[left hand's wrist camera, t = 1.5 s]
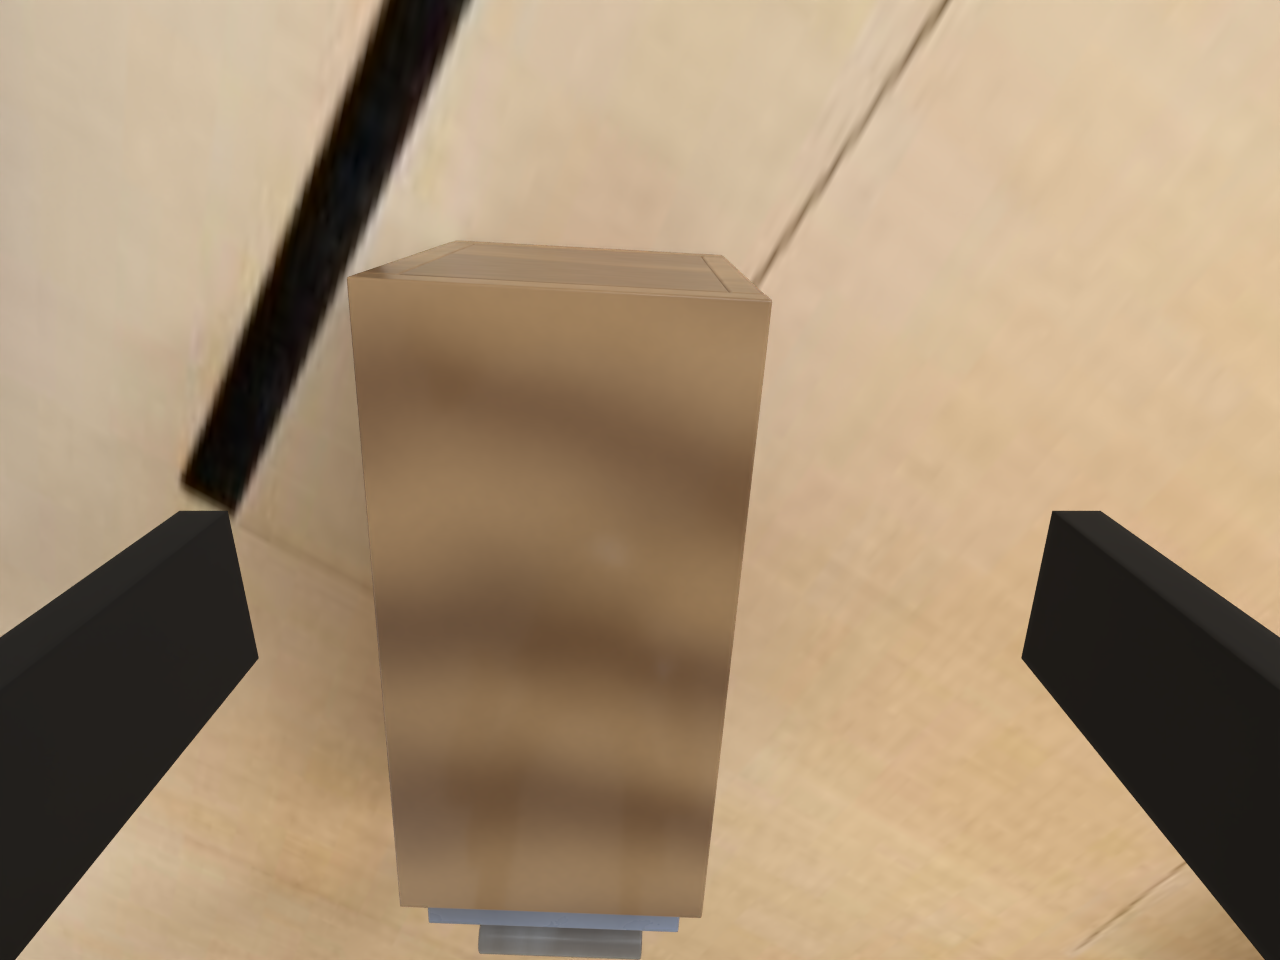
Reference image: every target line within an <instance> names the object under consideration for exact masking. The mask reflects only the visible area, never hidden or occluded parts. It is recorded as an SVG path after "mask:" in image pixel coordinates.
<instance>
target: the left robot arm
mask: <svg viewBox="0 0 1280 960" xmlns="http://www.w3.org/2000/svg"><path fill="white" fill-rule="evenodd" d="M257 660H258V653H257V648H256V643H255V639H254V634H253V629H252V624H251V620H250V615H249V610H248V605H247V601H246V596H245V591H244V586H243V582H242V577H241V572H240V567H239V563H238V558H237V553H236V548H235V544H234V539H233V534H232V529H231V525H230V520H229V515H228V511H179V512H177V513H176V514H174V515H173V516H172V517H170V518H169V519H167V520H166V521H165V522H163V523H162V524H160V525H159V526H157V527H156V528H155V529H153V530H152V531H150V532H149V533H148V534H146V535H145V536H143V537H142V538H140V539H139V540H138V541H136V542H135V543H133V544H132V545H131V546H129V547H128V548H126V549H125V550H123V551H122V552H121V553H119V554H118V555H116V556H115V557H114V558H112V559H111V560H109V561H108V562H106V563H105V564H104V565H102V566H101V567H99V568H98V569H97V570H95V571H94V572H92V573H91V574H89V575H88V576H87V577H85V578H84V579H82V580H81V581H80V582H78V583H77V584H75V585H74V586H72V587H71V588H70V589H68V590H67V591H65V592H64V593H63V594H61V595H60V596H58V597H57V598H55V599H54V600H53V601H51V602H50V603H48V604H47V605H46V606H44V607H43V608H41V609H40V610H38V611H37V612H36V613H34V614H33V615H31V616H30V617H29V618H27V619H26V620H24V621H23V622H21V623H20V624H19V625H17V626H16V627H14V628H13V629H12V630H10V631H9V632H7V633H6V634H4V635H3V636H2V637H0V960H15V959H16V958H17V957H18V956H19V954H20V953H21V952H22V951H23V949H24V948H25V947H26V946H27V944H28V943H29V942H30V941H31V939H32V938H33V937H34V936H35V935H36V933H37V932H38V931H39V930H40V928H41V927H42V926H43V925H44V923H45V922H46V921H47V920H48V918H49V917H50V916H51V915H52V913H53V912H54V911H55V910H56V909H57V907H58V906H59V905H60V904H61V902H62V901H63V900H64V899H65V897H66V896H67V895H68V894H69V892H70V891H71V890H72V889H73V887H74V886H75V885H76V884H77V883H78V881H79V880H80V879H81V878H82V876H83V875H84V874H85V873H86V871H87V870H88V869H89V868H90V866H91V865H92V864H93V863H94V861H95V860H96V859H97V858H98V856H99V855H100V854H101V853H102V852H103V850H104V849H105V848H106V847H107V845H108V844H109V843H110V842H111V840H112V839H113V838H114V837H115V835H116V834H117V833H118V832H119V830H120V829H121V828H122V827H123V826H124V824H125V823H126V822H127V821H128V819H129V818H130V817H131V816H132V814H133V813H134V812H135V811H136V809H137V808H138V807H139V806H140V804H141V803H142V802H143V801H144V800H145V798H146V797H147V796H148V795H149V793H150V792H151V791H152V790H153V788H154V787H155V786H156V785H157V783H158V782H159V781H160V780H161V778H162V777H163V776H164V775H165V773H166V772H167V771H168V770H169V769H170V767H171V766H172V765H173V764H174V762H175V761H176V760H177V759H178V757H179V756H180V755H181V754H182V752H183V751H184V750H185V749H186V747H187V746H188V745H189V744H190V743H191V741H192V740H193V739H194V738H195V736H196V735H197V734H198V733H199V731H200V730H201V729H202V728H203V726H204V725H205V724H206V723H207V721H208V720H209V719H210V718H211V717H212V715H213V714H214V713H215V712H216V710H217V709H218V708H219V707H220V705H221V704H222V703H223V702H224V700H225V699H226V698H227V697H228V695H229V694H230V693H231V692H232V691H233V689H234V688H235V687H236V686H237V684H238V683H239V682H240V681H241V679H242V678H243V677H244V676H245V674H246V673H247V672H248V671H249V669H250V668H251V667H252V666H253V664H254V663H255V662H256V661H257ZM1022 660H1023V661H1024V662H1025V663H1026V664H1027V666H1028V667H1029V668H1030V669H1031V671H1032V672H1033V673H1034V674H1035V676H1036V677H1037V678H1038V679H1039V681H1040V682H1041V683H1042V684H1043V686H1044V687H1045V688H1046V689H1047V691H1048V692H1049V693H1050V694H1051V695H1052V697H1053V698H1054V699H1055V700H1056V702H1057V703H1058V704H1059V705H1060V707H1061V708H1062V709H1063V710H1064V712H1065V713H1066V714H1067V715H1068V717H1069V718H1070V719H1071V720H1072V721H1073V723H1074V724H1075V725H1076V726H1077V728H1078V729H1079V730H1080V731H1081V733H1082V734H1083V735H1084V736H1085V738H1086V739H1087V740H1088V741H1089V743H1090V744H1091V745H1092V746H1093V747H1094V749H1095V750H1096V751H1097V752H1098V754H1099V755H1100V756H1101V757H1102V759H1103V760H1104V761H1105V762H1106V764H1107V765H1108V766H1109V767H1110V769H1111V770H1112V771H1113V772H1114V773H1115V775H1116V776H1117V777H1118V778H1119V780H1120V781H1121V782H1122V783H1123V785H1124V786H1125V787H1126V788H1127V790H1128V791H1129V792H1130V793H1131V795H1132V796H1133V797H1134V798H1135V800H1136V801H1137V802H1138V803H1139V804H1140V806H1141V807H1142V808H1143V809H1144V811H1145V812H1146V813H1147V814H1148V816H1149V817H1150V818H1151V819H1152V821H1153V822H1154V823H1155V824H1156V826H1157V827H1158V828H1159V829H1160V830H1161V832H1162V833H1163V834H1164V835H1165V837H1166V838H1167V839H1168V840H1169V842H1170V843H1171V844H1172V845H1173V847H1174V848H1175V849H1176V850H1177V852H1178V853H1179V854H1180V855H1181V856H1182V858H1183V859H1184V860H1185V861H1186V863H1187V864H1188V865H1189V866H1190V868H1191V869H1192V870H1193V871H1194V873H1195V874H1196V875H1197V876H1198V878H1199V879H1200V880H1201V881H1202V883H1203V884H1204V885H1205V886H1206V887H1207V889H1208V890H1209V891H1210V892H1211V894H1212V895H1213V896H1214V897H1215V899H1216V900H1217V901H1218V902H1219V904H1220V905H1221V906H1222V907H1223V909H1224V910H1225V911H1226V912H1227V913H1228V915H1229V916H1230V917H1231V918H1232V920H1233V921H1234V922H1235V923H1236V925H1237V926H1238V927H1239V928H1240V930H1241V931H1242V932H1243V933H1244V935H1245V936H1246V937H1247V938H1248V939H1249V941H1250V942H1251V943H1252V944H1253V946H1254V947H1255V948H1256V949H1257V951H1258V952H1259V953H1260V954H1261V956H1262V957H1263V958H1264V959H1265V960H1280V637H1278V636H1277V635H1275V634H1274V633H1273V632H1271V631H1270V630H1268V629H1267V628H1266V627H1264V626H1263V625H1261V624H1260V623H1259V622H1257V621H1256V620H1254V619H1253V618H1251V617H1250V616H1249V615H1247V614H1246V613H1244V612H1243V611H1242V610H1240V609H1239V608H1237V607H1236V606H1234V605H1233V604H1232V603H1230V602H1229V601H1227V600H1226V599H1225V598H1223V597H1222V596H1220V595H1219V594H1217V593H1216V592H1215V591H1213V590H1212V589H1210V588H1209V587H1208V586H1206V585H1205V584H1203V583H1202V582H1200V581H1199V580H1198V579H1196V578H1195V577H1193V576H1192V575H1191V574H1189V573H1188V572H1186V571H1185V570H1183V569H1182V568H1181V567H1179V566H1178V565H1176V564H1175V563H1174V562H1172V561H1171V560H1169V559H1168V558H1166V557H1165V556H1164V555H1162V554H1161V553H1159V552H1158V551H1157V550H1155V549H1154V548H1152V547H1151V546H1149V545H1148V544H1147V543H1145V542H1144V541H1142V540H1141V539H1140V538H1138V537H1137V536H1135V535H1134V534H1132V533H1131V532H1130V531H1128V530H1127V529H1125V528H1124V527H1123V526H1121V525H1120V524H1118V523H1117V522H1115V521H1114V520H1113V519H1111V518H1110V517H1108V516H1107V515H1106V514H1104V513H1103V512H1101V511H1052V515H1051V520H1050V525H1049V529H1048V534H1047V539H1046V544H1045V548H1044V553H1043V558H1042V563H1041V567H1040V572H1039V577H1038V582H1037V586H1036V591H1035V596H1034V601H1033V605H1032V610H1031V615H1030V620H1029V624H1028V629H1027V634H1026V639H1025V643H1024V648H1023V653H1022Z"/></svg>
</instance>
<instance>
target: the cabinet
mask: <svg viewBox="0 0 1280 960" xmlns="http://www.w3.org/2000/svg"><path fill="white" fill-rule="evenodd" d="M347 285H348V297H349V309H350V321H351V332H352V344H353V356H354V368H355V379H356V391H357V403H358V414H359V426H360V438H361V450H362V461H363V473H364V485H365V497H366V508H367V520H368V532H369V543H370V555H371V567H372V579H373V590H374V602H375V614H376V626H377V637H378V649H379V661H380V673H381V684H382V696H383V708H384V719H385V731H386V743H387V755H388V766H389V778H390V790H391V802H392V813H393V825H394V837H395V848H396V860H397V872H398V884H399V895H400V906H402V907H426V908H453V909H479V910H505V911H532V912H558V913H584V914H611V915H637V916H664V917H690V918H701V916H702V908H703V900H704V891H705V882H706V874H707V865H708V856H709V847H710V839H711V830H712V821H713V812H714V804H715V795H716V786H717V777H718V769H719V760H720V751H721V743H722V734H723V725H724V716H725V708H726V699H727V690H728V681H729V673H730V664H731V655H732V647H733V638H734V629H735V620H736V612H737V603H738V594H739V585H740V577H741V568H742V559H743V550H744V542H745V533H746V524H747V516H748V507H749V498H750V489H751V481H752V472H753V463H754V454H755V446H756V437H757V428H758V420H759V411H760V402H761V393H762V385H763V376H764V367H765V358H766V350H767V341H768V332H769V324H770V315H771V306H772V300H771V299H770V298H769V297H768V296H767V295H764V294H763V293H762V292H761V291H760V290H759V289H758V288H757V287H756V286H755V285H754V284H753V283H752V282H750V281H749V280H748V279H747V278H746V277H745V276H744V275H743V274H742V273H741V272H740V271H739V270H738V269H737V268H735V267H734V266H733V265H732V264H731V263H730V262H729V261H728V260H727V259H726V258H725V257H724V256H722V255H707V254H689V253H671V252H653V251H634V250H616V249H598V248H580V247H562V246H544V245H526V244H508V243H489V242H471V241H454V242H451V243H447V244H444V245H441V246H438V247H435V248H432V249H429V250H426V251H423V252H420V253H417V254H415V255H412V256H409V257H406V258H403V259H400V260H397V261H394V262H391V263H388V264H385V265H382V266H379V267H376V268H373V269H370V270H367V271H364V272H362V273H358V274H355V275H352V276H349V277H347Z"/></svg>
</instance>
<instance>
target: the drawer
mask: <svg viewBox="0 0 1280 960" xmlns="http://www.w3.org/2000/svg"><path fill="white" fill-rule="evenodd" d="M428 916H429V922H430V923H452V924H478V925H480V929H479V940H478V950H479V953H480V954H500V955H527V956H554V957H581V958H608V959H636V960H639V959H641V951H642V931H665V932H678V926H679V917H664V916H637V915H611V914H584V913H558V912H532V911H505V910H479V909H453V908H428Z"/></svg>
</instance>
